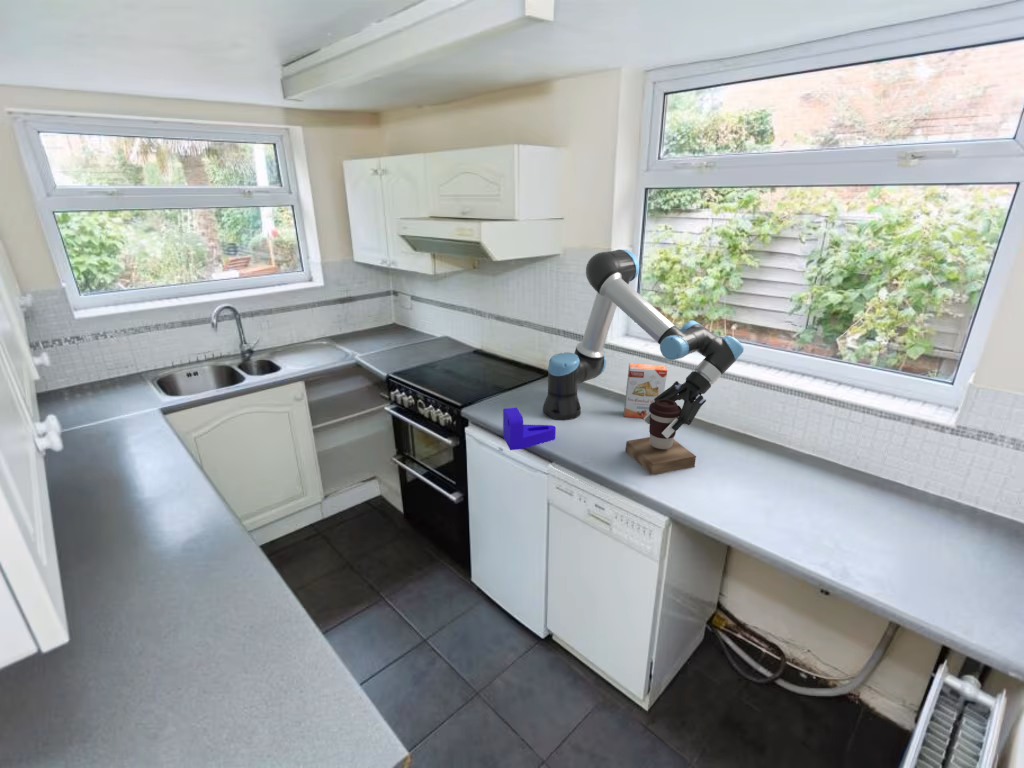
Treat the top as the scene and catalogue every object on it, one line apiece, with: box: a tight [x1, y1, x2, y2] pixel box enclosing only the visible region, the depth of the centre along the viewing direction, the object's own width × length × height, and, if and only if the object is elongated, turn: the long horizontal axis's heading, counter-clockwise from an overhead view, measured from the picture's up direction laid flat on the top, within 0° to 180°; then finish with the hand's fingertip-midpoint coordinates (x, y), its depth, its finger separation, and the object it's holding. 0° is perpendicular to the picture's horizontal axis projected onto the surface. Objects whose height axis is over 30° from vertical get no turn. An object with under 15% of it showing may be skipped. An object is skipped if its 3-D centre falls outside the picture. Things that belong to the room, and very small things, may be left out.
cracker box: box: [623, 362, 668, 419], centre depth 195 cm, size 14×6×21 cm, turn 80°
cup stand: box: [625, 436, 697, 476], centre depth 167 cm, size 16×16×4 cm
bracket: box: [502, 406, 557, 451], centre depth 178 cm, size 18×11×12 cm, turn 104°
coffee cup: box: [648, 399, 682, 449], centre depth 163 cm, size 10×10×15 cm
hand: (654, 428), depth 163 cm, fingers closed on coffee cup, 10 cm apart
